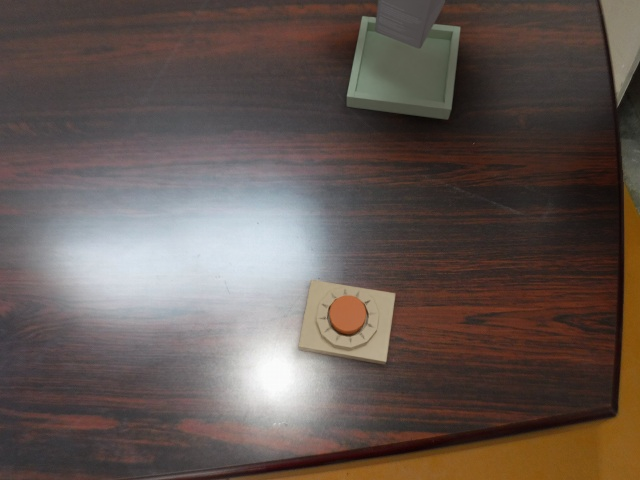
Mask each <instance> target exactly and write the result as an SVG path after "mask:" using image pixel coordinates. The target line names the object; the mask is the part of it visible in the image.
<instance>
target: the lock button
mask: <svg viewBox="0 0 640 480" xmlns="http://www.w3.org/2000/svg"><path fill="white" fill-rule="evenodd" d="M365 319H366V309H365V306H364V304H363V303H362V301H361V300H359V299H358V298H356V297H354V296H350V295H346V296H341V297H339V298H337V299H336V300H335V301H334V302H333V303H332V305H331V307H330V321H331V324H332V326H333V327H334V328H335V329H336V330H337V331H338V332H340V333H343V334H353V333H356V332H358V331H359V330H360V329H361V328H362V327H363V325H364V323H365Z"/></svg>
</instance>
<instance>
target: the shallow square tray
mask: <svg viewBox="0 0 640 480" xmlns="http://www.w3.org/2000/svg"><path fill="white" fill-rule="evenodd" d="M375 24H376V17H374V16H366V15H362V16H361V21H360V26H359V31H358V36H357V40H356V41H357V43H356V47H355V51H354V57H353V61H352V67H351V71H350V76H349V83H348V88H347V94H346V108H353V109H354V108H355V109H362V110H369V111H375V112H376V111H377V112H386V113H391V114H392V113H393V114H400V115H401V114H402V115H409V116H417V117H424V118H431V119H438V120H449V118H450V115H451V112H452V108H453V98H454V90H455V81H456V71H457V65H458V64H457V62H458V53H459V45H460V43H459V42H460V35H461V26H457V25H447V24H440V23H439V24H437V23H434V24H433V26H432V28H431V30H430V32H429V34H428V36H427V38H426V39H425V41H424V43H423V45H422V47H421V48H420V49H418V48H415V47H412V46H410V45H407V44H405V43H402V42H400V41H397V40H395V39H392V38H390V37H387V36H384V35H382V34H379V33H377V32H375Z"/></svg>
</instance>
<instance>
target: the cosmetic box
mask: <svg viewBox="0 0 640 480" xmlns="http://www.w3.org/2000/svg"><path fill="white" fill-rule="evenodd" d="M445 4H446V0H377V8H376V24H375V32H377V33H379V34H382V35H384V36H387V37H390V38H392V39H395V40H397V41H400V42H402V43H405V44H407V45H410V46H412V47H415V48H418V49H420V48H421V47H422V45H423V43H424V41H425V39H426V38H427V36H428V34H429V32H430V30H431V28H432V26H433V24H436V21H437V19H438V17H439V15H440V13H441V11H442V9H443V7H444V6H445Z"/></svg>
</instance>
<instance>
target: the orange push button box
mask: <svg viewBox="0 0 640 480" xmlns="http://www.w3.org/2000/svg"><path fill="white" fill-rule="evenodd" d="M346 295H350V296H354V297H356V298H358V299H359V300H361V301H362V303H363V304H364V306H365V309H366V319H365V323H364V325H363V327H362V328H361V329H360V330H359V331H358V332H356V333H353V334H343V333H340V332H338V331H337V330H336V329H335V328H334V327H333V326H332V324H331V321H330V307H331V305H332V303H333V302H334V301H335V300H336V299H337V298H339V297H341V296H346ZM395 301H396V292H390V291H384V290H378V289H372V288H365V287H359V286H353V285H347V284H340V283H335V282H334V283H333V282H328V281H322V280H317V279H311V280H310V282H309V289H308V294H307V299H306V304H305V308H304V309H305V310H304V315H303V320H302V323H301V324H302V325H301V331H300V335H299V341H298V345H297V346H298V349H299V350H300V351H305V352H309V353H310V352H311V353H315V354H321V355H322V354H323V355H327V356H333V357H339V358H344V359H349V360H355V361H361V362H367V363H372V364H379V365H385V366H386V363H387V360H388V354H389V353H388V352H389V346H390V339H391V338H390V337H391V329H392V325H393V324H392V323H393V317H394V310H395V309H394V308H395Z"/></svg>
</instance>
